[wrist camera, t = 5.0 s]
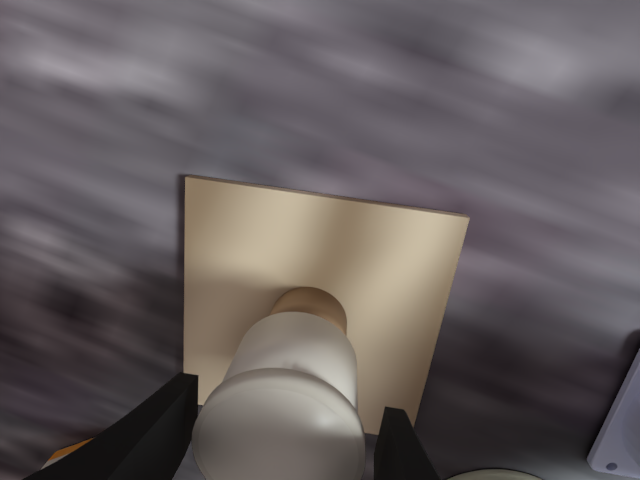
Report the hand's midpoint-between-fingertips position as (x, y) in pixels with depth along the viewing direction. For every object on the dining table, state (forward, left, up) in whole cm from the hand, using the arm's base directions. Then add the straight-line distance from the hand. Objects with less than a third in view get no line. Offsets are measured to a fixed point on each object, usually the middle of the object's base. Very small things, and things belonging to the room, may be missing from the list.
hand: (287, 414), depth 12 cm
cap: (0, 0, -2) cm, 2 cm away
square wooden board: (0, 0, -6) cm, 6 cm away
